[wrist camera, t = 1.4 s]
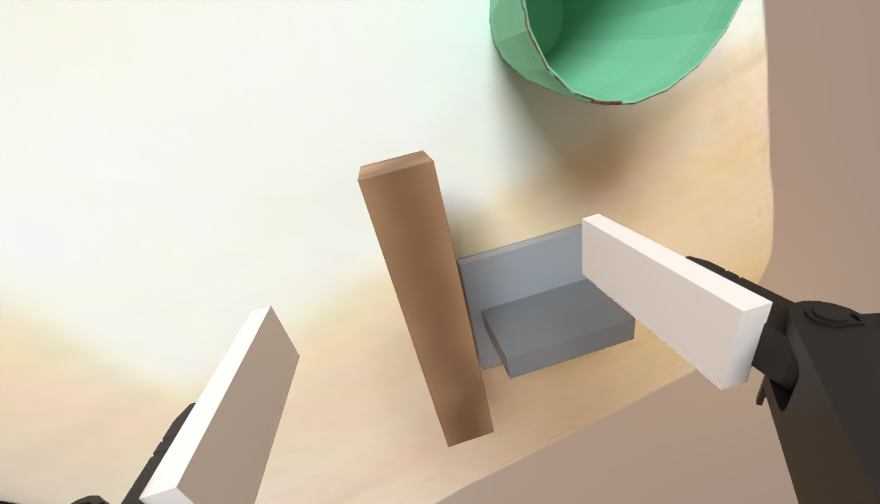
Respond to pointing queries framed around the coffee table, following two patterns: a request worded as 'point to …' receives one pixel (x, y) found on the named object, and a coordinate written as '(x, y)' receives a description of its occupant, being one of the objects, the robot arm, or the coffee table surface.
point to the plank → (428, 288)
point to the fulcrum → (538, 304)
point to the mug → (608, 43)
